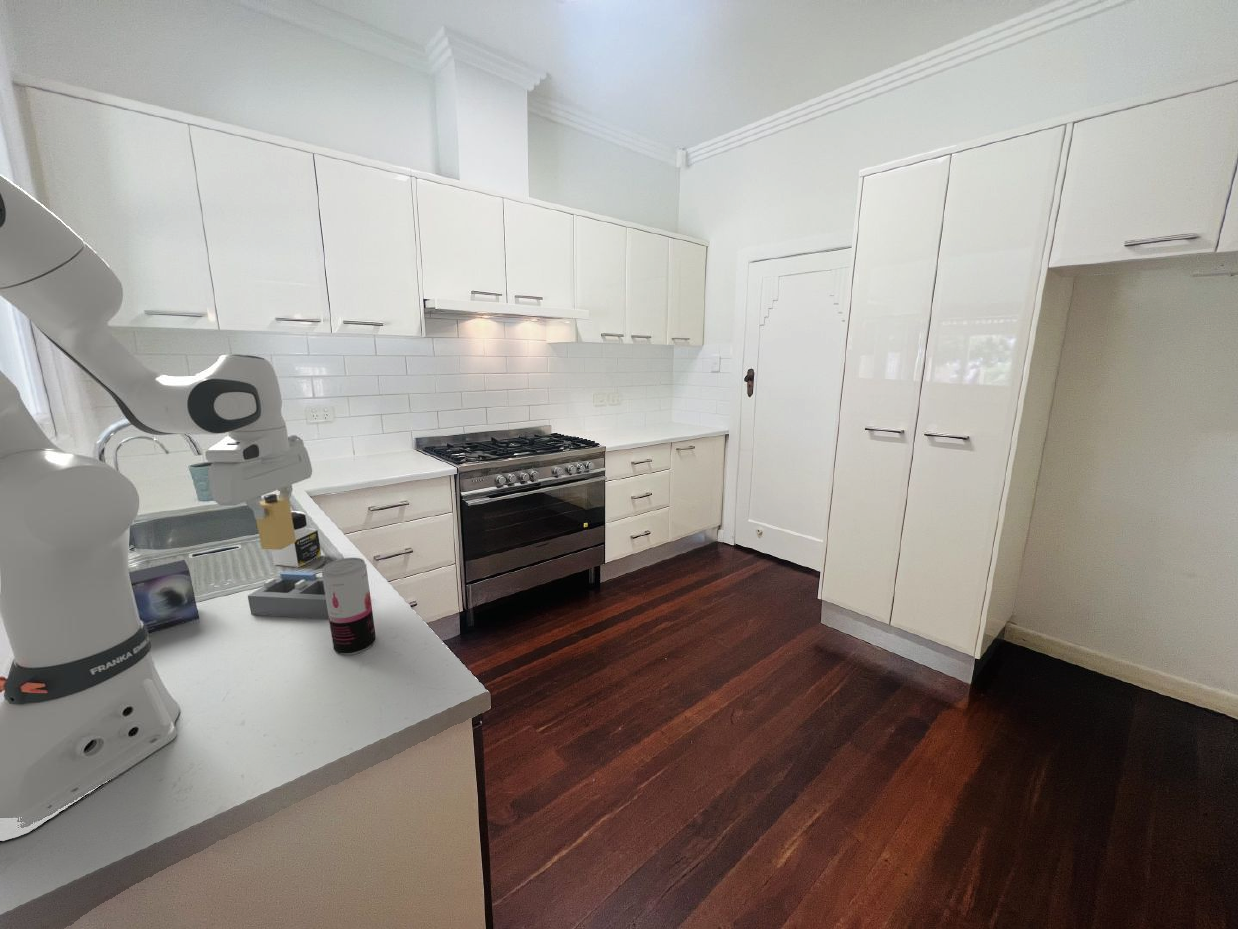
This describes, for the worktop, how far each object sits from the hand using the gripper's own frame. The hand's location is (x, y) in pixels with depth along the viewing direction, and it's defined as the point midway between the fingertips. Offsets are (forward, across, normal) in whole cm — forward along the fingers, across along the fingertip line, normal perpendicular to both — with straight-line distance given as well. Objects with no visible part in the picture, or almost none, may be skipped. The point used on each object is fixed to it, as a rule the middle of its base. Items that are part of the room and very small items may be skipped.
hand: (273, 513), depth 97 cm
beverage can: (+20, +12, +22) cm, 32 cm away
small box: (+20, +9, -19) cm, 29 cm away
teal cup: (+20, -66, -82) cm, 107 cm away
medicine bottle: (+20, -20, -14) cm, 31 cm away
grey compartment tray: (+19, 0, +4) cm, 20 cm away
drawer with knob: (+7, 0, 0) cm, 7 cm away
